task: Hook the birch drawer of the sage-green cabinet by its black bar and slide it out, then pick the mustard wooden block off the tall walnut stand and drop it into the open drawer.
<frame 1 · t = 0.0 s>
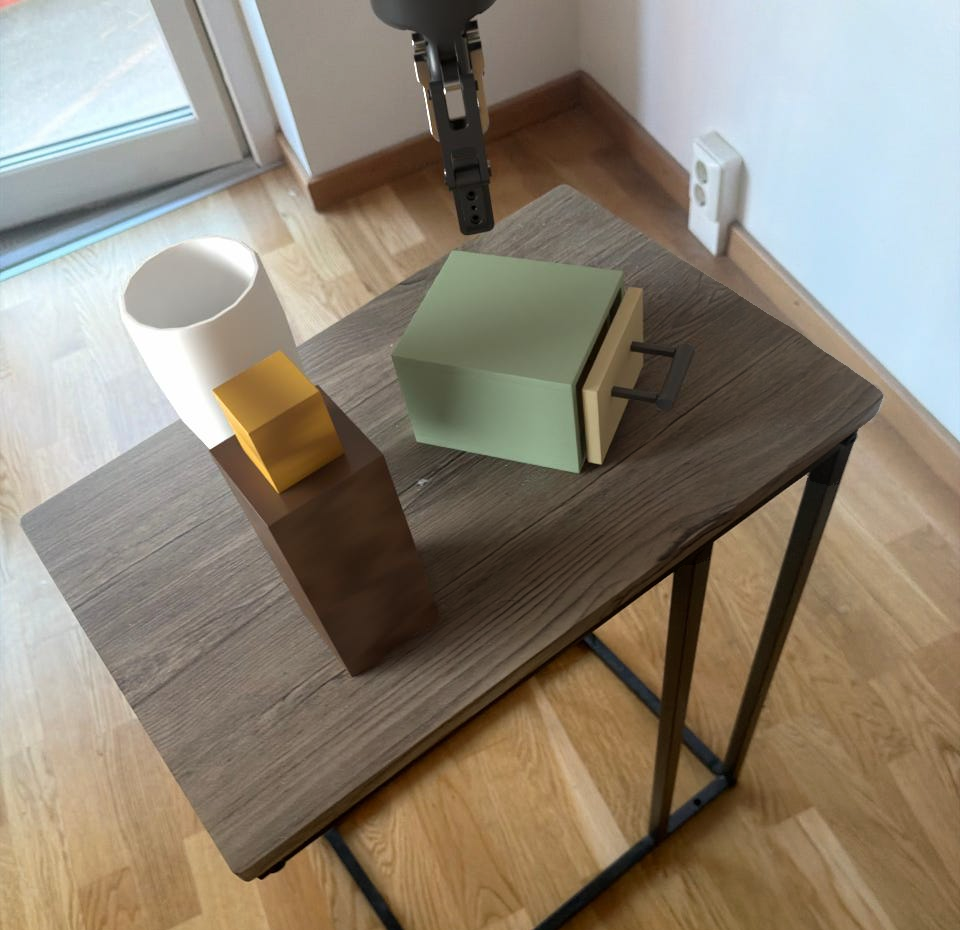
hand: (472, 190, 61), 21 cm above the table, tool pointing down, fingers open, 8 cm apart
stand: (369, 613, 71), on the table
block: (293, 451, 56), point 18 cm above the table, touching stand
cup: (296, 497, 79), on the table
drawer: (570, 369, 74), point 5 cm above the table, slide at 0.5 cm
cabinet: (522, 403, 80), on the table
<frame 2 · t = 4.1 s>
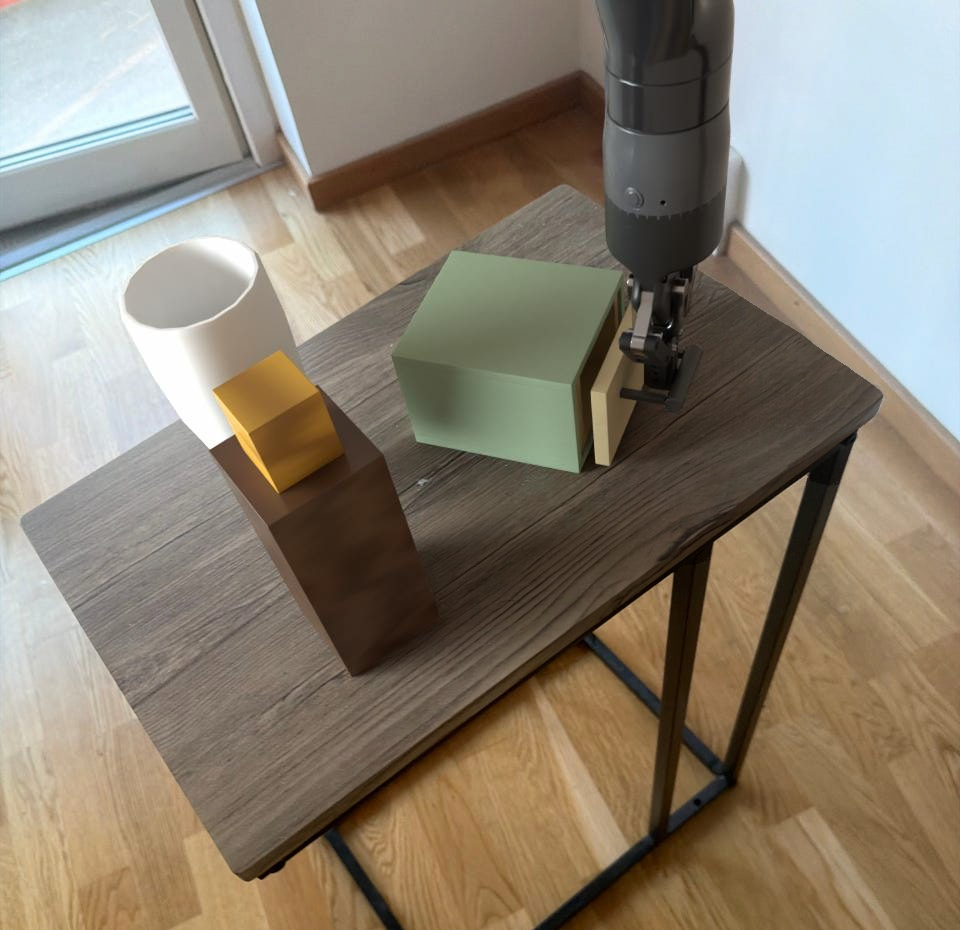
hand: (660, 382, 72), 5 cm above the table, tool pointing down, fingers closed
drawer: (578, 370, 74), point 5 cm above the table, slide at 1.2 cm, touching gripper
everything else where it was.
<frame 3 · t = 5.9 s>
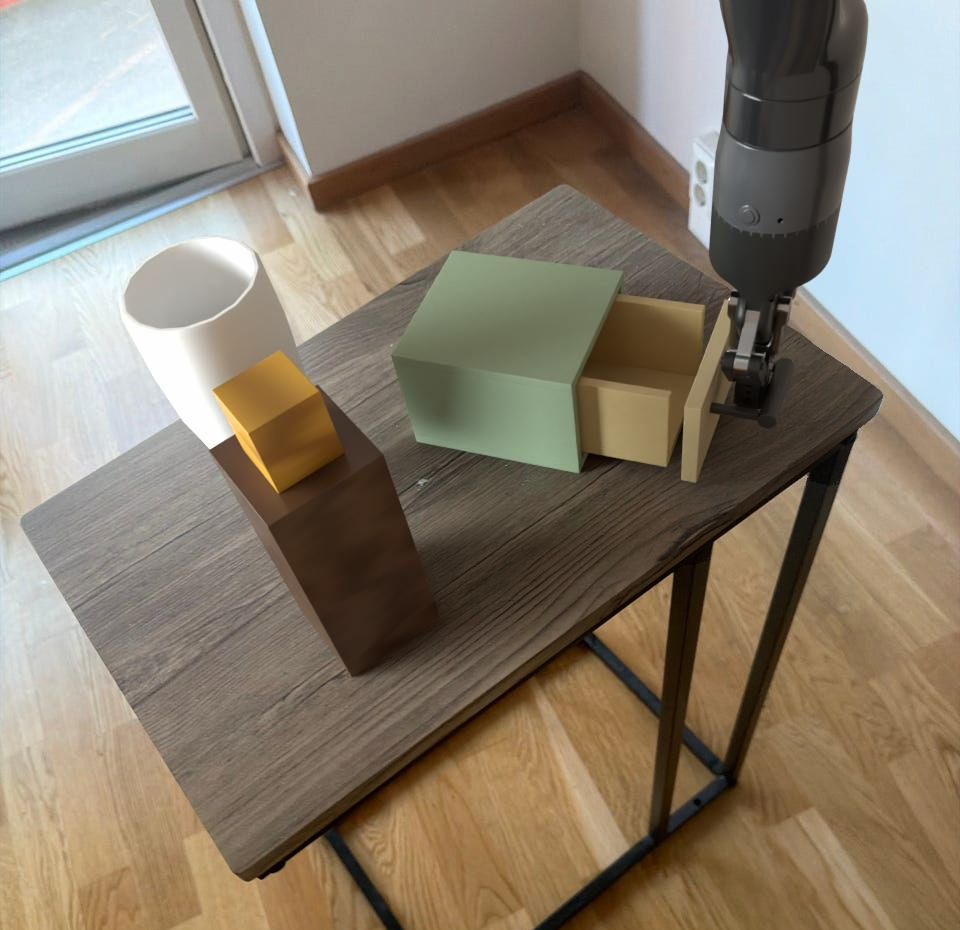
hand: (750, 400, 70), 5 cm above the table, tool pointing down, fingers closed
drawer: (662, 384, 72), point 5 cm above the table, slide at 8.1 cm
everything else where it was.
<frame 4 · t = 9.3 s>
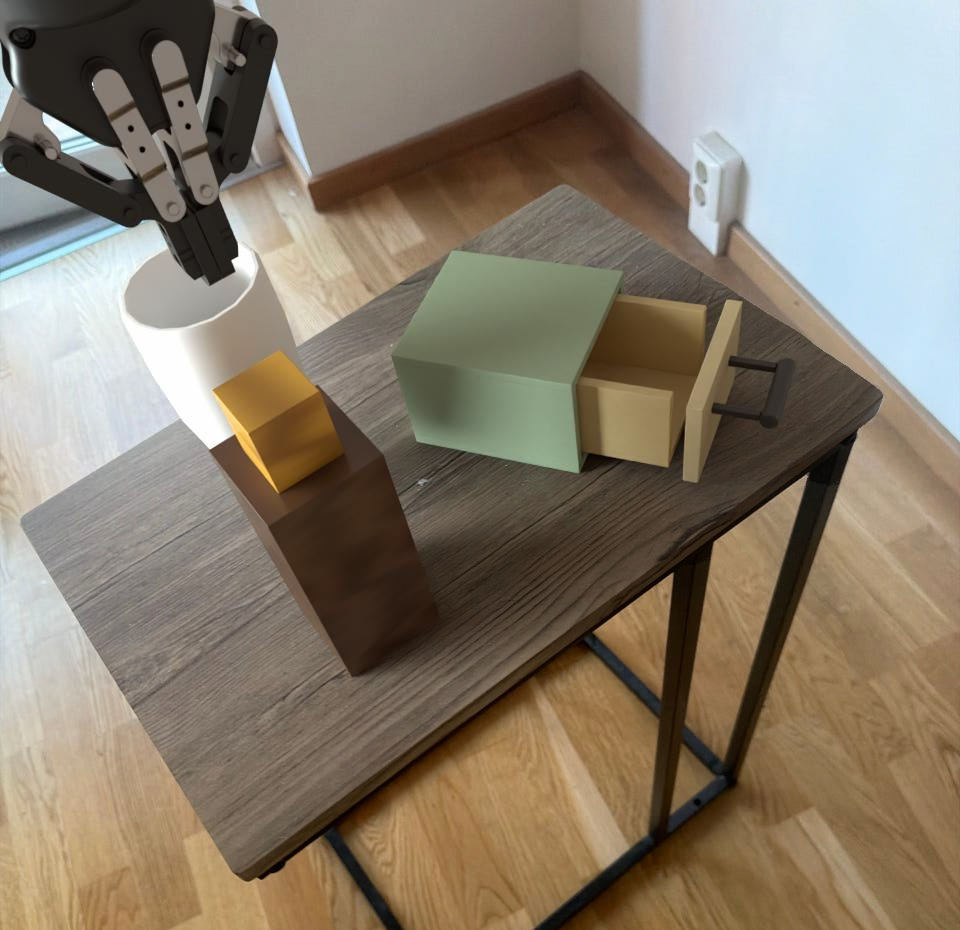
hand: (215, 271, 45), 31 cm above the table, tool pointing down, fingers closed
nothing on the table moved.
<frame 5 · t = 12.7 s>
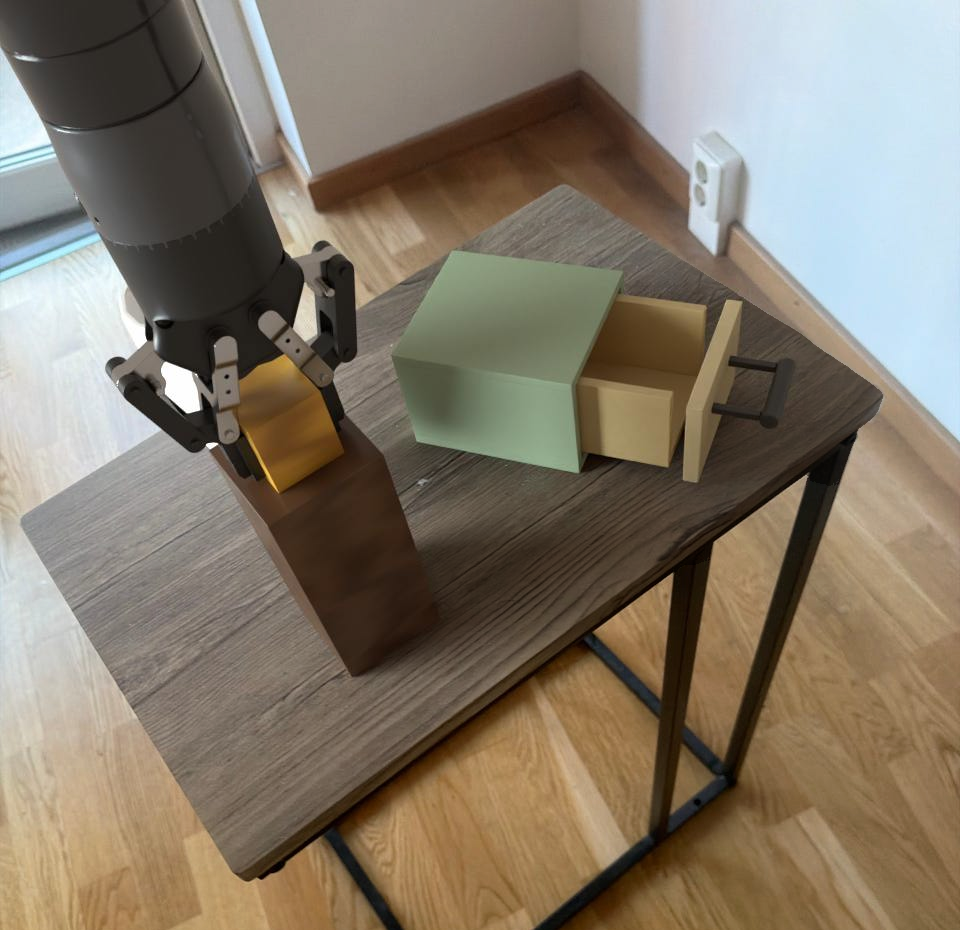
hand: (292, 447, 56), 18 cm above the table, tool pointing down, fingers closed on block, 4 cm apart
block: (293, 451, 56), point 18 cm above the table, touching gripper, stand
everything else where it was.
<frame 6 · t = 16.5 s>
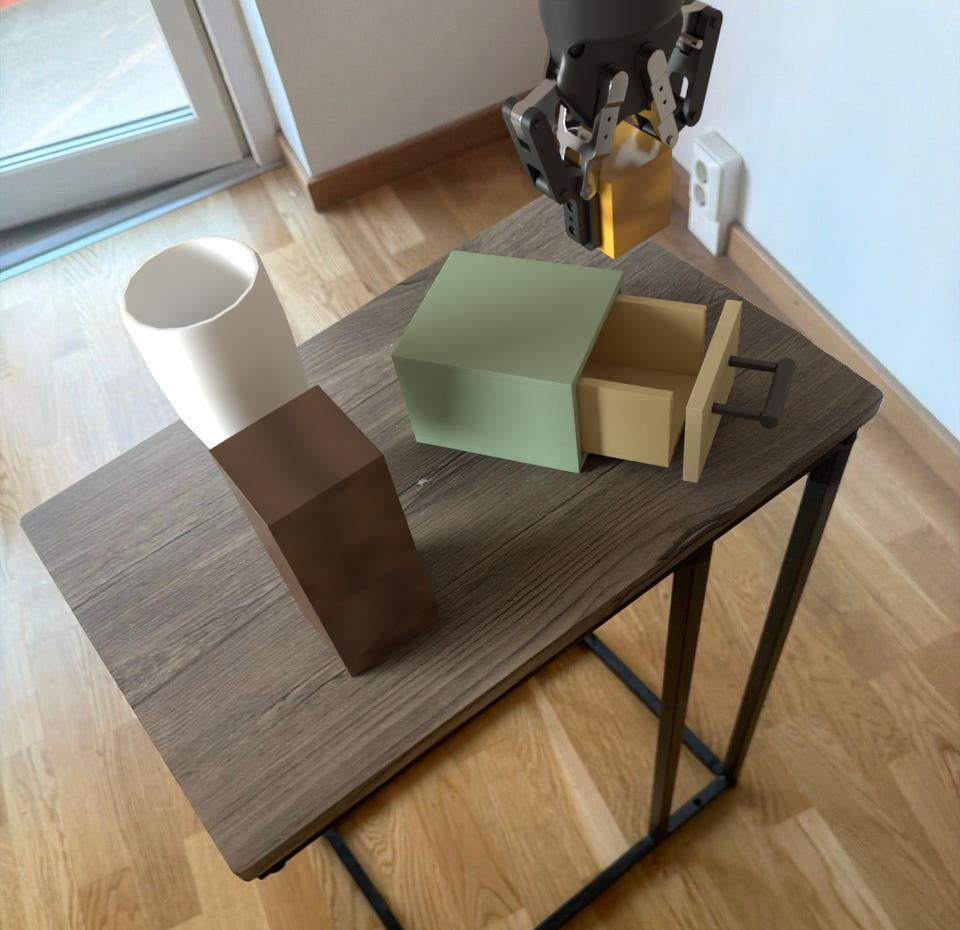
hand: (619, 222, 58), 20 cm above the table, tool pointing down, fingers closed on block, 4 cm apart
block: (618, 226, 59), point 20 cm above the table, touching gripper
everything else where it was.
when the fingers open (8 cm above the table, at t = 20.2 s): block drops 5 cm, resting on drawer.
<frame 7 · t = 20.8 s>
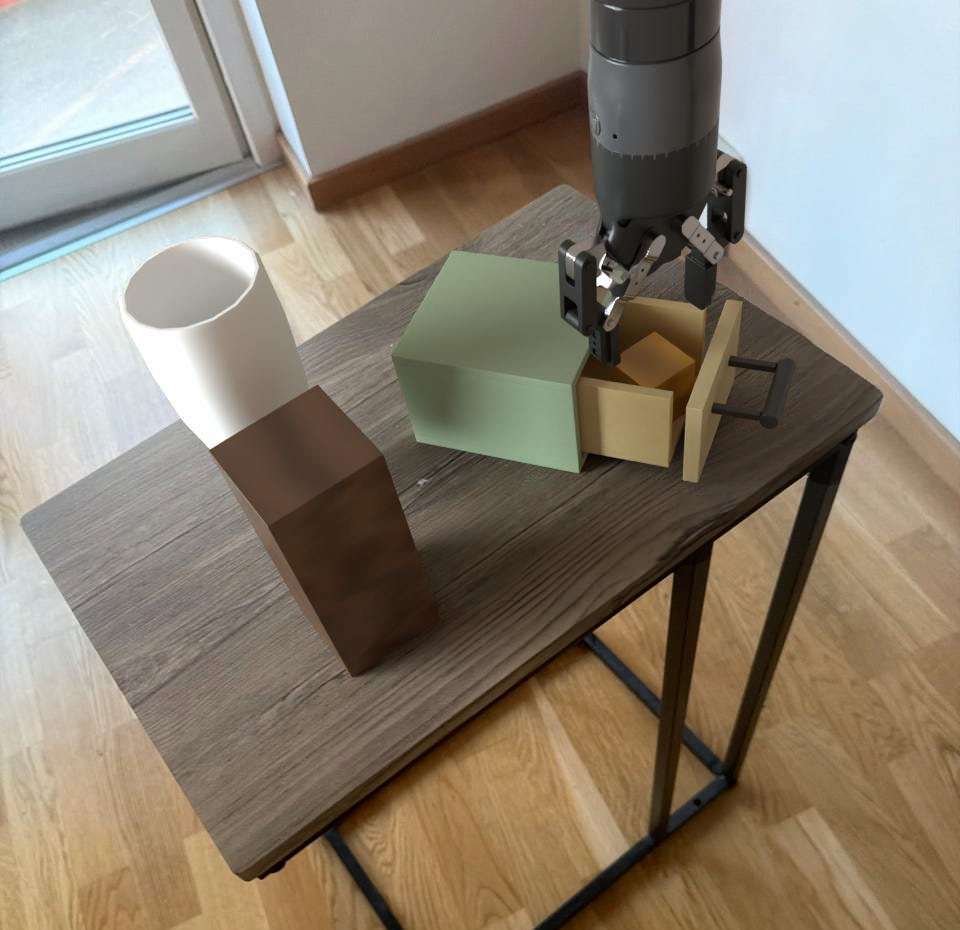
hand: (653, 331, 68), 10 cm above the table, tool pointing down, fingers open, 8 cm apart
block: (651, 408, 75), point 2 cm above the table, touching drawer
drawer: (664, 384, 72), point 5 cm above the table, slide at 8.2 cm, touching block
everything else where it was.
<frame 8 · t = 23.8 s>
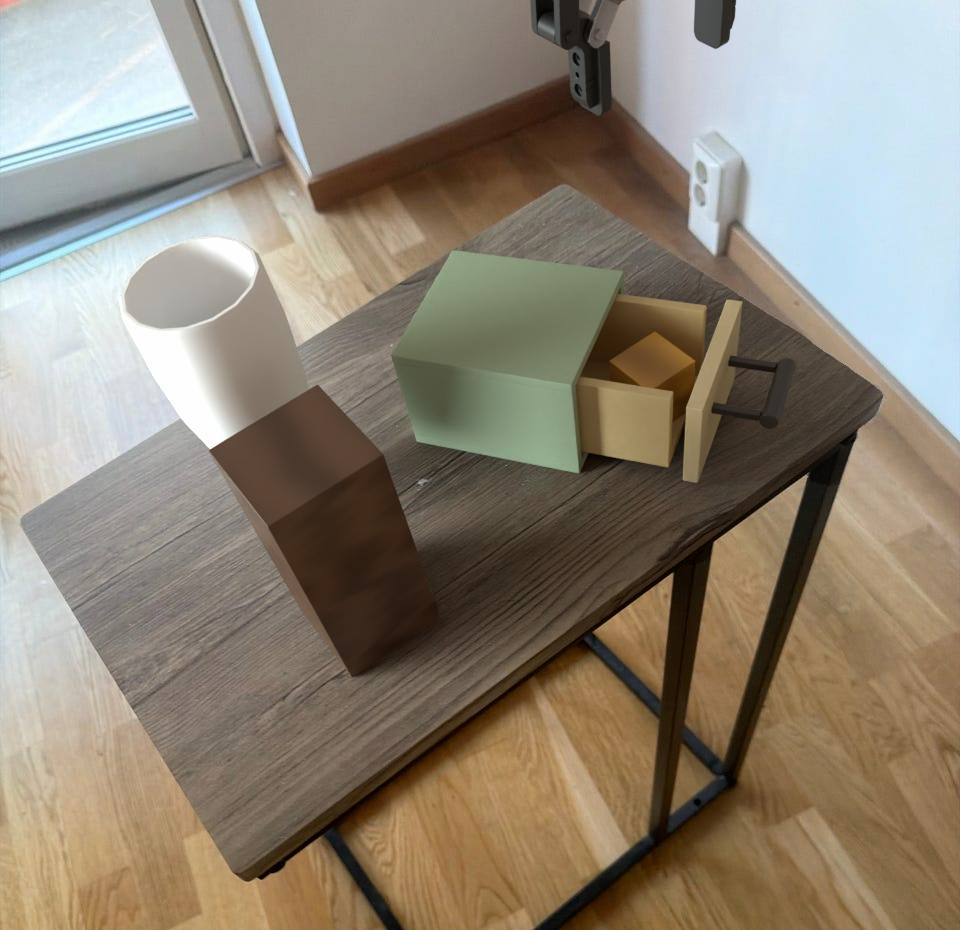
hand: (654, 74, 53), 28 cm above the table, tool pointing down, fingers open, 8 cm apart
nothing on the table moved.
at the end: drawer slide at 8.2 cm; block inside the target area in the drawer (0.3 cm from its centre), point 2.0 cm above the cabinet's base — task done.
